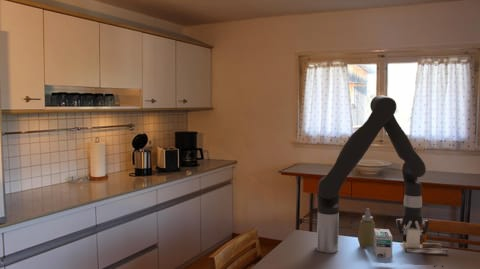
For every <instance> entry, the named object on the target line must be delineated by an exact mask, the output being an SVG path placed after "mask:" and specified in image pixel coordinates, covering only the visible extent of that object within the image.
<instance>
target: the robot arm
mask: <svg viewBox="0 0 480 269" xmlns="http://www.w3.org/2000/svg"><path fill="white" fill-rule="evenodd" d="M369 105H370V106H369V107H370V110H371V113H370V114H369V116H368V118H367V119H366V121H365V122H364V123H363V124H362V125H361V126H360V127H359V128H357V129H356V130H355V131H354V132H353V133H352V134H351V135H350V136H349V137H348V139H347V141H346V142H345V144H344V145H343V147H342V148H341V150H340V152H339V154H338V156H337V158H336V160H335V163H334V165H333V166H332V168H331V169H330V170H329V171H328V172H327V174H326V175H325V176H322V177H321V178H320V179H319V181H318V185H317V227H316V251H317V252H321V253H326V254H332V253H333V254H334V253H337V252H338V251H339V219H340V218H339V217H340V216H339V214H340V190H341V188H342V186H343V185H344V183H345V182H346V179H347V178H348V176H349V175H350V174H351V173H352V171H353V170H354V169H355V168H356V167H357V165H358V164H359V163H360V162H361V160H362V158H363V157H364V156H365V155H366V153H367V151H368V150H369V148H370V147H371V145H372V144H373V143H374V141H375V139H376V138H377V136H378V135H379V133H380V132H381V130H383V129H384V131H385V132H386V135H387V136H388V138H389V140H390V142H391V143H392V146H393V148H394V151H395V152H396V154H397V156H398V158H399V159H401V160H402V161H404V162H403V164H402V168H401V169H402V170H401V172H402V173H401V174H402V178H403V182H404V197H403V214H402V218H396V219H395V222H396V226H397V227H396V228H397V231H398V232H399V233H400V234H401V235H402V239H401V240H402V242H403V241H404V243H406V233H407V229H409V228H417V229H419V230H420V243H421V242H422V235H426V234H427V231H428V228H429V224H430V222H429V220H427V219H424V218H423V217H422V216H423V213H422V212H423V196H422V194H423V190H422V189H423V186H422V183H421V181H419V180H418V178H421V177H423V176H424V175H425V173H426V170H427V169H426V164H425V162H424V161H423V159H422V158H421V156H419V154H418V153H417V152H416V151H415V149H414V147H413V145H412V142H411V140H410V139H409V138H408V136H407V134H406V132H405V131H404V129H403V128H402V127H401V126H400V124H399V123H398V121H397V119H396V117H395V113H396V111H397V108H398V107H397V101H395V99H393V98H392V97H390V96H386V95H381V94H380V95H376V96H374V97H373V98H372V99H371V101H370V104H369ZM403 223H404V225H403V229H402V224H403ZM420 225H422V228H421V226H420Z"/></svg>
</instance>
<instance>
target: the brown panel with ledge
mask: <svg viewBox="0 0 480 269" xmlns="http://www.w3.org/2000/svg"><path fill="white" fill-rule="evenodd" d="M399 245H400V247H401V248H402V249H403V251H404V252H405V253H406V254H407V253H408V254H425V255H426V254H429V255H448V249H447V248H443V247H442V246H443V245H442V243H439V242H438V243H433V242H422V243H420V248H411V247H405V246H404V245H403V243H399Z"/></svg>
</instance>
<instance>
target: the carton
mask: <svg viewBox="0 0 480 269" xmlns="http://www.w3.org/2000/svg"><path fill="white" fill-rule="evenodd" d="M420 230H421V229H420ZM420 230H419V229H417V228H409V229H407V233H406V243H404V241H403V240H402V242H403V243H402V244H403V245H404V246H405V247H411V248H420V244H421V242H420Z"/></svg>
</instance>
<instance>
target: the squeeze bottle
mask: <svg viewBox="0 0 480 269" xmlns="http://www.w3.org/2000/svg"><path fill="white" fill-rule="evenodd" d="M373 219H374V216H372V215H371V212H370V208H369V207H368V208H367V207H366V209H365V212H364V215H362V216H361V220H360V221H359V226H358V234H357V235H358V236H357V241H358V244H359V247H360V248H361V249H364V250H367V247H368V248H371V247H374V228H375V229H376V223H375V221H374V220H373Z"/></svg>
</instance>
